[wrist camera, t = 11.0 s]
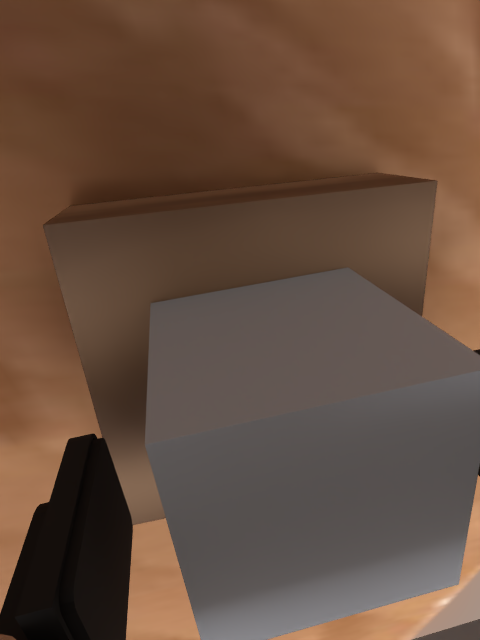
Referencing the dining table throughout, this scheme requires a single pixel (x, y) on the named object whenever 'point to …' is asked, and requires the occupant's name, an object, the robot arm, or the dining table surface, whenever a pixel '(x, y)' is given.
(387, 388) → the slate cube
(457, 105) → the dining table surface
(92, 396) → the walnut block
